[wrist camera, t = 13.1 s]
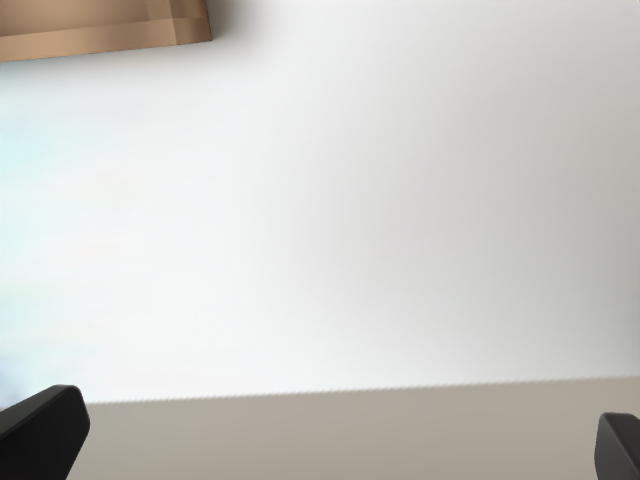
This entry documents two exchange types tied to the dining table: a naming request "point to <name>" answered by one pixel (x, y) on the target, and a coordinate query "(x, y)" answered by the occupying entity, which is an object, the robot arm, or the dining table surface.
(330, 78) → the dining table surface
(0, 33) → the walnut tray
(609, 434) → the robot arm
